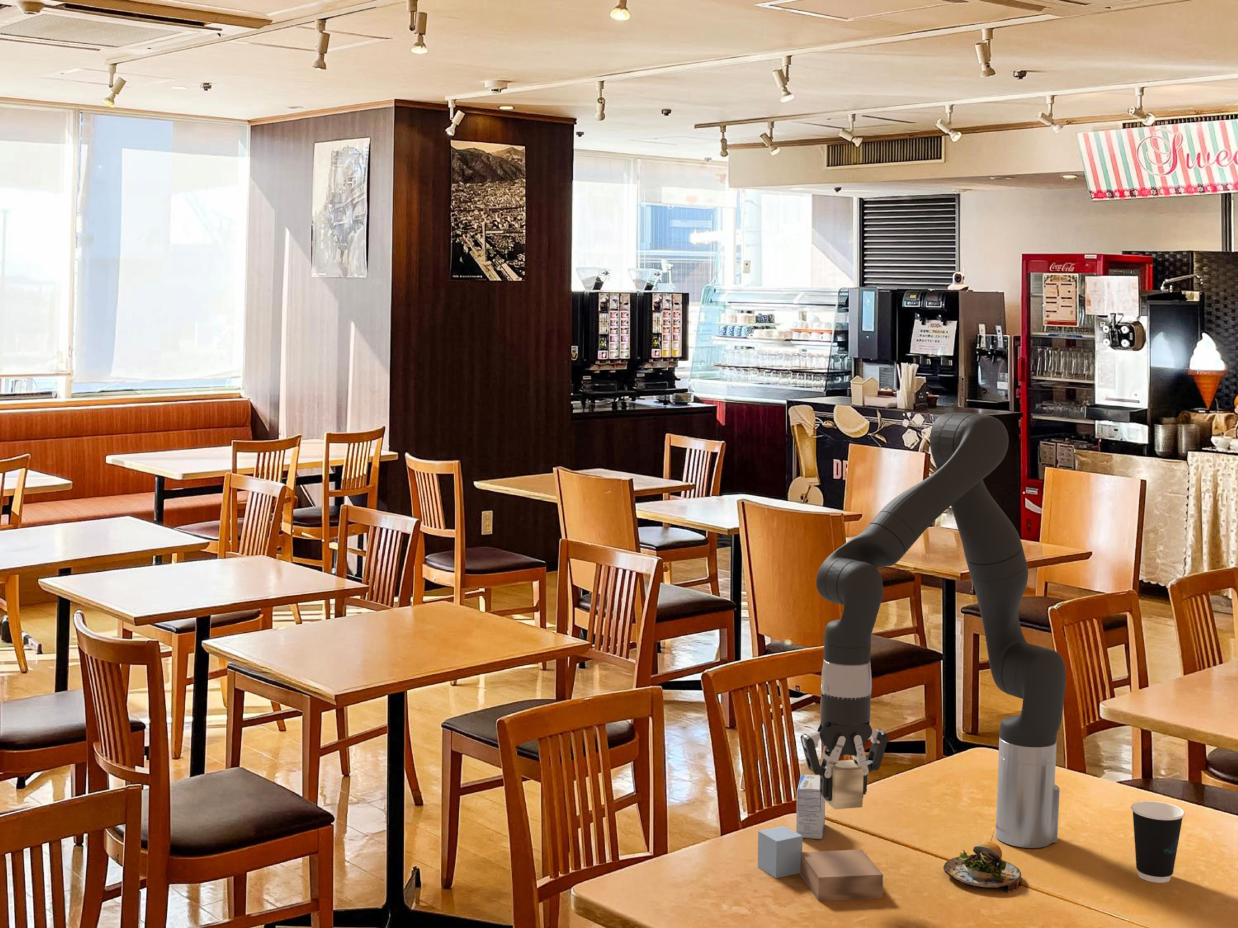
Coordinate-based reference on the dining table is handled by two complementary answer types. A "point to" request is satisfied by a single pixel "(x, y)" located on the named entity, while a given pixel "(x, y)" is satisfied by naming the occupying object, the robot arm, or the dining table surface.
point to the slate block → (779, 851)
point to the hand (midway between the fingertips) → (842, 797)
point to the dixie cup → (1156, 839)
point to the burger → (984, 868)
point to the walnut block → (841, 875)
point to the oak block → (847, 785)
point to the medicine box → (810, 808)
